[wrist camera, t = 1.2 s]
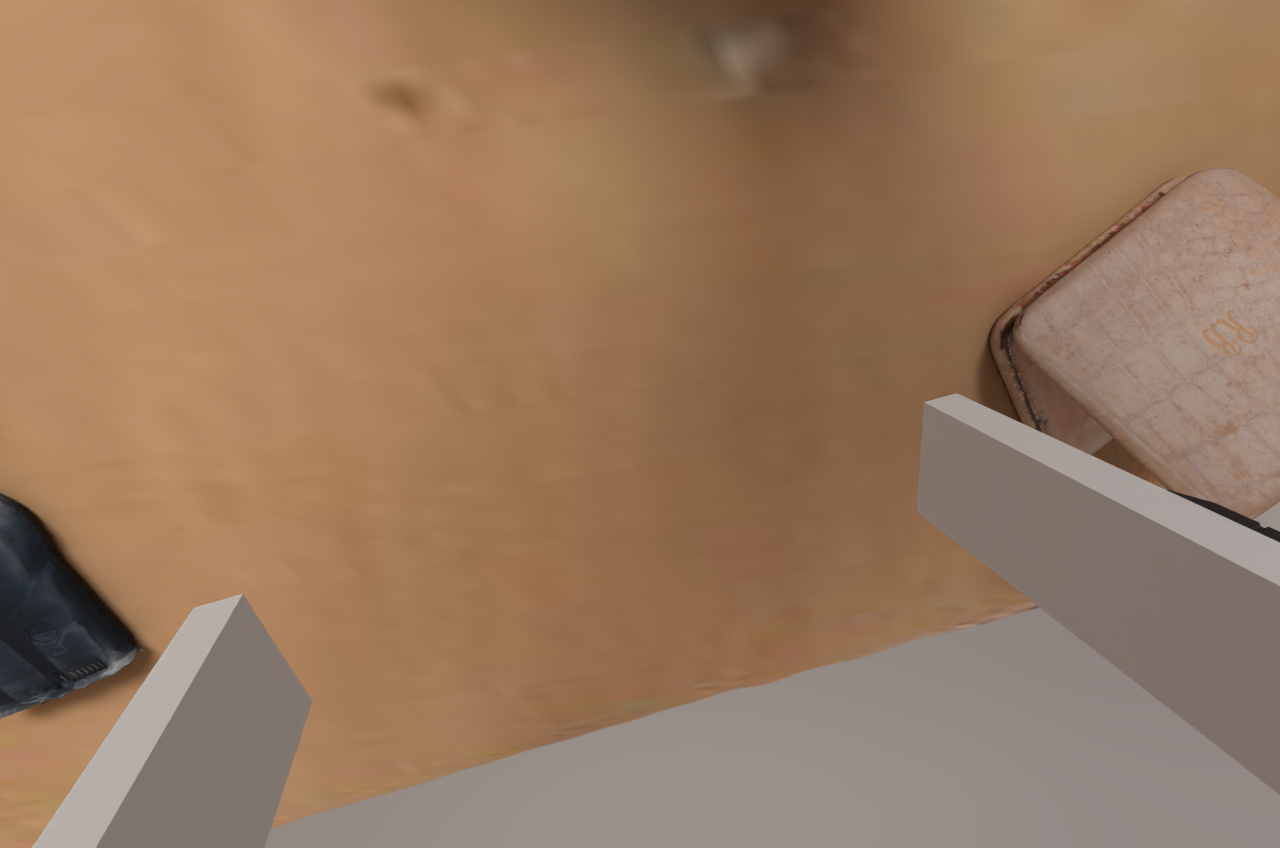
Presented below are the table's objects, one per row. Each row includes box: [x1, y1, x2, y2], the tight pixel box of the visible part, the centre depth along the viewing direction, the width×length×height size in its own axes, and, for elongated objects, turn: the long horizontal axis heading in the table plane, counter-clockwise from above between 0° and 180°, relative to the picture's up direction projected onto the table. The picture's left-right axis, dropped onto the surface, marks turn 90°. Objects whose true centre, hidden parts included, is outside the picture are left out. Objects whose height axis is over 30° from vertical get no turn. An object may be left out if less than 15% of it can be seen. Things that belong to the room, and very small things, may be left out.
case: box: [990, 168, 1280, 520], centre depth 42 cm, size 20×21×16 cm
